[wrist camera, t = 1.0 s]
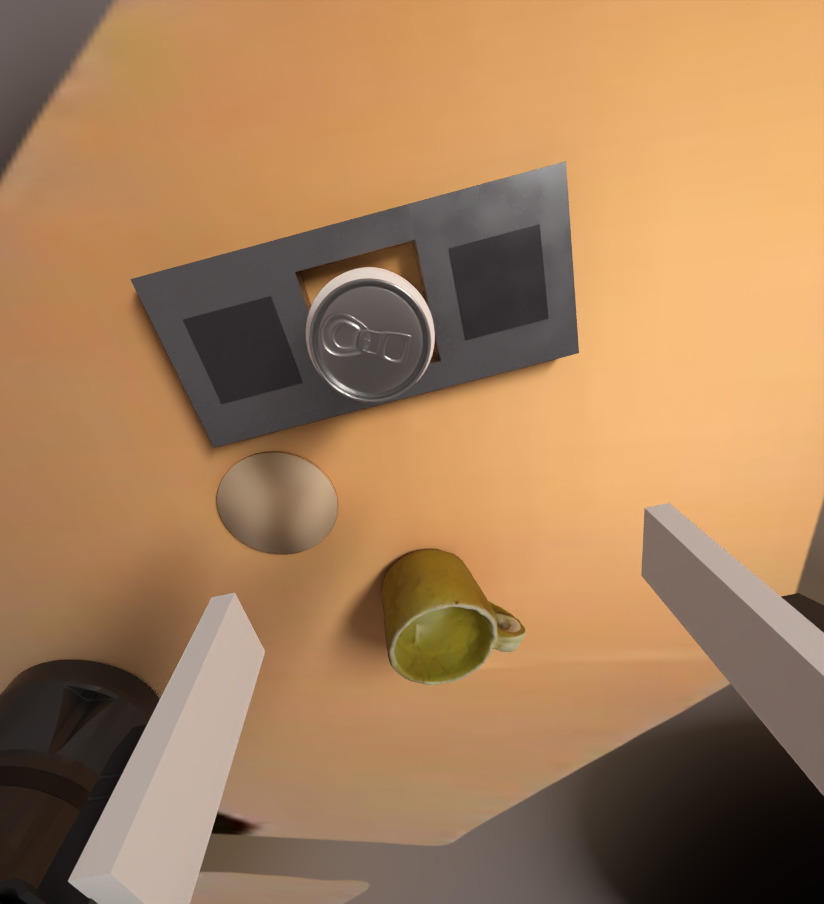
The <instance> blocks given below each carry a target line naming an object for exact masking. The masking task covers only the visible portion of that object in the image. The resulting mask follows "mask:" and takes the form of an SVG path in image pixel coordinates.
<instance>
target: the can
mask: <svg viewBox="0 0 824 904" xmlns="http://www.w3.org/2000/svg"><path fill="white" fill-rule="evenodd" d="M434 342H435V331H434V324H433V319H432V315H431V313H430V310H429V308H428V305H427V304H426V302H425V300H424V299H423V297H422V296H421V294H420V293H419V292H418V291H417V289H416V288H415V287H414V286H413V285H411V284H410V283H409V282H408V281H407V280H405V279H404V278H402V277H401V276H399V275H397V274H395V273H393V272H391V271H388V270H385V269H382V268H376V267H363V268H357V269H353V270H350V271H347V272H345V273H343V274H341V275H339V276H337V277H335V278H334V279H333V280H331V281H330V282H329V283H328V284H326V285H325V286H324V287H323V288H322V290H321V291H320V292H319V293H318V295H317V296H316V298H315V299H314V301H313V303H312V305H311V308H310V310H309V314H308V317H307V322H306V343H307V348H308V352H309V355H310V358H311V360H312V363H313V365H314V366H315V368H316V370H317V371H318V373H319V374H320V375H321V377H322V378H323V379H324V380H325V381H326V382H327V383H328V384H329V385H330V386H331V387H332V388H333V389H334V390H336V391H337V392H339V393H340V394H342V395H344V396H346V397H348V398H351V399H354V400H357V401H362V402H381V401H386V400H390V399H392V398H395V397H397V396H399V395H401V394H403V393H404V392H406V391H407V390H408V389H410V388H411V387H412V386H413V385H414V384H415V383H416V382H417V381H418V380H419V379H420V377H421V376H422V375H423V373H424V372H425V370H426V369H427V367H428V365H429V362H430V360H431V357H432V354H433V349H434Z"/></svg>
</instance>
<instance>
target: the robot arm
mask: <svg viewBox="0 0 824 904" xmlns="http://www.w3.org/2000/svg"><path fill="white" fill-rule="evenodd" d="M641 576H642V577H643V578H644V579H645V580H646V582H647V583H648V584H649V585H650V586H651V588H652V589H653V590H654V591H655V592H656V594H657V595H658V596H659V597H660V599H661V600H662V601H663V602H664V603H665V605H666V606H667V607H668V608H669V609H670V611H671V612H672V613H673V614H674V615H675V617H676V618H677V619H678V620H679V622H680V623H681V624H682V625H683V626H684V628H685V629H686V630H687V631H688V632H689V634H690V635H691V636H692V637H693V638H694V640H695V641H696V642H697V643H698V645H699V646H700V647H701V648H702V649H703V651H704V652H705V653H706V654H707V655H708V657H709V658H710V659H711V660H712V661H713V663H714V664H715V665H716V666H717V667H718V669H719V670H720V671H721V672H722V674H723V675H724V676H725V677H726V678H727V680H728V681H729V682H730V683H731V684H732V686H733V687H734V688H735V689H736V690H737V692H738V693H739V694H740V695H741V697H742V698H743V699H744V700H745V701H746V702H747V704H748V705H749V706H750V707H751V709H752V710H753V711H754V712H755V713H756V715H757V716H758V717H759V718H760V719H761V720H762V722H763V723H764V724H765V726H766V727H767V728H768V729H769V730H770V732H771V733H772V734H773V735H774V736H775V738H776V739H777V740H778V741H779V743H780V744H781V745H782V746H783V747H784V748H785V750H786V751H787V752H788V753H789V755H790V756H791V757H792V758H793V759H794V761H795V762H796V763H797V764H798V766H799V767H800V768H801V769H802V770H803V771H804V773H805V774H806V775H807V776H808V778H809V779H810V780H811V781H812V782H813V784H815V786H816V787H817V788H818V790H819V791H820V792H821V793H822V795H824V606H823V605H822V604H820V603H817V602H815V601H813V600H811V599H809V598H807V597H805V596H803V595H801V594H799V593H797V594H792V595H787V596H782V597H780V596H779V595H778V594H777V593H776V592H775V591H773V590H772V589H771V588H770V587H769V586H767V585H766V584H765V583H764V582H763V581H761V580H760V579H759V578H758V577H757V576H755V575H754V574H753V573H752V572H751V571H750V570H748V569H747V568H746V567H745V566H744V565H742V564H741V563H740V562H739V561H738V560H736V559H735V558H734V557H733V556H732V555H731V554H729V553H728V552H727V551H726V550H725V549H723V548H722V547H721V546H720V545H719V544H717V543H716V542H715V541H714V540H713V539H711V538H710V537H709V536H708V535H707V534H706V533H704V532H703V531H702V530H701V529H700V528H698V527H697V526H696V525H695V524H694V523H692V522H691V521H690V520H689V519H688V518H686V517H685V516H684V515H683V514H682V513H681V512H679V511H678V510H677V509H676V508H675V507H673V506H672V505H671V504H670V503H667V504H662V505H657V506H652V507H647V508H645V512H644V533H643V554H642V575H641ZM264 654H265V650H264V648H263V646H262V645H261V643H260V641H259V639H258V637H257V635H256V633H255V631H254V629H253V627H252V625H251V623H250V621H249V619H248V617H247V615H246V613H245V611H244V610H243V608H242V606H241V604H240V602H239V600H238V598H237V596H236V594H235V593H231V594H226V595H221V596H216V597H212V598H211V600H210V602H209V604H208V606H207V607H206V609H205V611H204V613H203V615H202V617H201V619H200V621H199V623H198V625H197V627H196V629H195V631H194V633H193V635H192V637H191V639H190V641H189V643H188V645H187V647H186V649H185V651H184V653H183V655H182V657H181V659H180V661H179V663H178V665H177V667H176V669H175V671H174V673H173V675H172V677H171V679H170V680H169V682H168V684H167V686H166V688H165V690H164V692H163V694H162V696H161V698H160V700H159V699H158V697H157V696H156V694H155V693H154V692H153V691H152V690H151V689H150V688H149V687H148V686H147V685H146V684H145V683H143V682H142V681H141V680H139V679H138V678H136V677H134V676H133V675H131V674H129V673H127V672H124V671H122V670H120V669H117V668H114V667H111V666H108V665H104V664H100V663H95V662H89V661H79V660H63V661H53V662H48V663H43V664H40V665H37V666H34V667H31V668H29V669H27V670H25V671H24V672H22V673H21V674H19V675H18V676H17V677H16V678H15V679H14V680H13V681H12V682H11V683H10V684H9V685H8V687H7V688H6V689H5V690H4V691H3V692H2V693H1V695H0V904H190V901H191V898H192V895H193V891H194V888H195V885H196V881H197V878H198V875H199V871H200V868H201V865H202V861H203V858H204V854H205V851H206V848H207V844H208V841H209V838H210V834H211V831H212V828H213V824H214V821H215V818H216V814H217V811H218V808H219V804H220V801H221V798H222V794H223V791H224V788H225V784H226V781H227V778H228V774H229V771H230V768H231V764H232V761H233V758H234V754H235V751H236V748H237V744H238V741H239V738H240V734H241V731H242V727H243V724H244V721H245V717H246V714H247V711H248V707H249V704H250V701H251V697H252V694H253V691H254V687H255V684H256V681H257V677H258V674H259V671H260V667H261V664H262V661H263V657H264Z"/></svg>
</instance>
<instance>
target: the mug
mask: <svg viewBox="0 0 824 904" xmlns="http://www.w3.org/2000/svg"><path fill="white" fill-rule="evenodd" d="M382 604H383V609H384V624H385V636H386V644H387V651H388V657H389V661H390V664H391V666H392V667H393V668H394V670H395V671H396V672H397V673H398V674H400V675H401V676H402V677H404V678H406V679H408V680H410V681H412V682H417V683H422V684H427V685H436V684H443V683H447V682H454V681H457V680H460V679H462V678H464V677H466V676H468V675H470V674H471V673H473V672H474V671H476V670H477V669H478V668H479V667H480V666H481V665H482V664H484V663H485V661H486V659H487V658H488V656H489V655H490V654H491V651H492V649H497V650H500V651H502V652H512V651H514V650H516V649H517V648H518V646H519V645H520V643H521V641H522V639H523V638H524V636H525V633H526V631H525V628H524V626H523V625H522V624H521V623H520V621H519V620H518V619H516V618H515V617H514V616H513V615H512V614H510V613H509V612H507V611H505V610H504V609H502V608H501V607H499V606H496V605H494V604H493V603H491V602H489V601H488V600H487V598H486V597H485V595H484V593H483V592H482V590H481V589H480V587H479V586H478V584H477V583H476V581H475V580H474V578H473V576H472V574H471V573H470V571H469V570H468V568H467V567H466V565H465V564H464V563H463V561H462V560H461V559H460V558H459V557H457V556H456V555H454V554H452V553H448V552H444V551H441V550H439V549H423V550H417V551H414V552H411V553H408V554H406V555H405V556H404V557H402V558H401V559H399V560H398V561H397V562H396V563H395V564H393V565H392V566H391V568H390V569H389V570H388V572H387V574H386V576H385V578H384V581H383V586H382Z"/></svg>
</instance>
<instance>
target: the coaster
mask: <svg viewBox="0 0 824 904" xmlns="http://www.w3.org/2000/svg"><path fill="white" fill-rule="evenodd" d="M217 506H218V511H219V515H220V517H221V519H222V521H223V523H224V525H225V526H226V528H227V529H228V530H229V531H230V533H232V534H233V535H234V536H235V537H236V538H237V539H238V540H240V541H241V542H242V543H244V544H246V545H247V546H249V547H252V548H254V549H256V550H259V551H262V552H267V553H272V554H292V553H297V552H301V551H304V550H307V549H309V548H311V547H313V546H315V545H317V544H318V543H319V542H321V541H322V540H323V539H324V538H325V537H326V536H327V535H328V534H329V532H330V531H331V529H332V527H333V526H334V523H335V520H336V517H337V511H338V500H337V495H336V491H335V489H334V486H333V484H332V483H331V481H330V479H329V478H328V477H327V475H326V474H325V473H324V472H323V471H322V470H321V469H320V468H319V467H318V466H316V465H315V464H313V463H312V462H310V461H308V460H307V459H305V458H302V457H300V456H297V455H294V454H290V453H285V452H274V451H272V452H262V453H257V454H254V455H251V456H248V457H246V458H244V459H242V460H240V461H239V462H237V463H236V464H235V465H234V466H233V467H231V468H230V470H229V471H228V472H227V473H226V475H225V476H224V478H223V479H222V481H221V483H220V486H219V489H218V493H217Z"/></svg>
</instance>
